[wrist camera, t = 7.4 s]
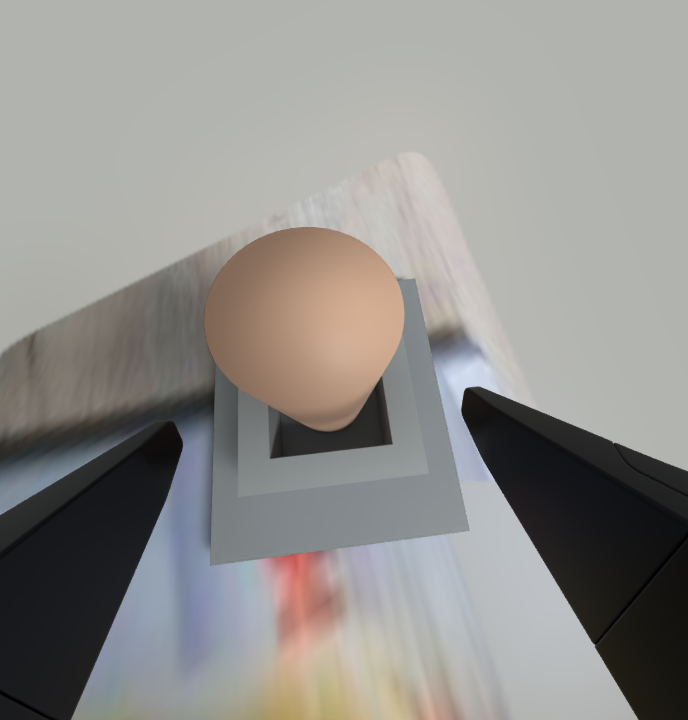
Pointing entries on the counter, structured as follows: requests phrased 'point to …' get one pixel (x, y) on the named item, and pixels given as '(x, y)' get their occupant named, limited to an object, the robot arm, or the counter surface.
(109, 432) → the counter surface
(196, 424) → the counter surface
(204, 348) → the counter surface
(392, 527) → the socket
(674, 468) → the robot arm
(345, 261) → the dowel
